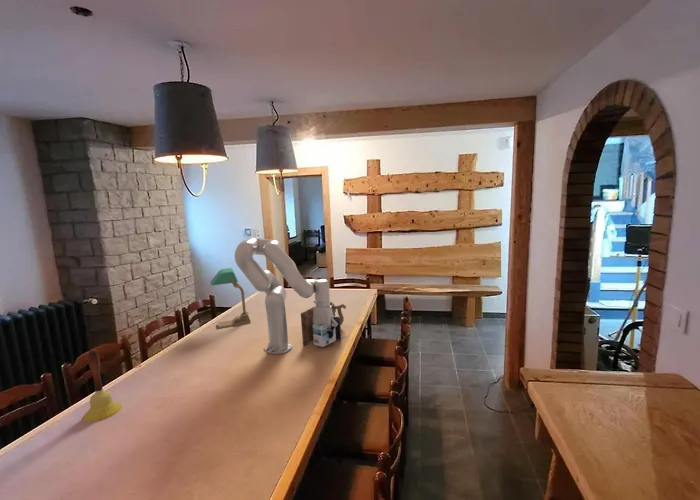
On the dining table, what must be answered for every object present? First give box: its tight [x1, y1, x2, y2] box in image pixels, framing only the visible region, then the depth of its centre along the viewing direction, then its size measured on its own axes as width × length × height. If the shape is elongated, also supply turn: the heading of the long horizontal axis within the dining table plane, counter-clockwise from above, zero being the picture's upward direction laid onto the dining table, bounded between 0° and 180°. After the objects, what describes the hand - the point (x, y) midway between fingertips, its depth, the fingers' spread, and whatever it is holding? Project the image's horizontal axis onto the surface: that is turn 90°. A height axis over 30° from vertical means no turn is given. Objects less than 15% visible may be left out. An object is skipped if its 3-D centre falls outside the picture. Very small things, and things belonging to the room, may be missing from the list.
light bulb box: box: [313, 324, 336, 348], centre depth 187 cm, size 11×7×11 cm, turn 143°
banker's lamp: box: [210, 267, 252, 329], centre depth 226 cm, size 16×21×35 cm
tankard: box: [330, 301, 347, 326], centre depth 213 cm, size 20×13×15 cm, turn 62°
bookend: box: [333, 315, 342, 341], centre depth 196 cm, size 1×14×13 cm, turn 61°
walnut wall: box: [300, 306, 314, 347], centre depth 194 cm, size 15×1×18 cm, turn 151°
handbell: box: [82, 348, 123, 423], centre depth 135 cm, size 12×12×25 cm
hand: (324, 336), depth 187 cm, fingers closed on light bulb box, 7 cm apart
